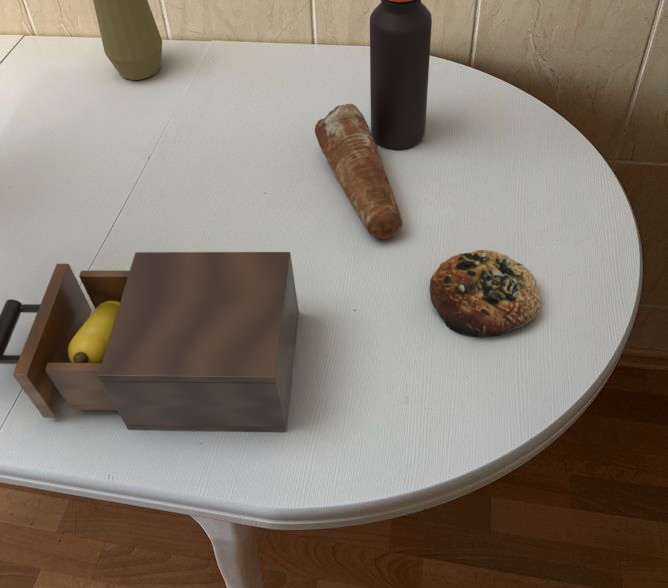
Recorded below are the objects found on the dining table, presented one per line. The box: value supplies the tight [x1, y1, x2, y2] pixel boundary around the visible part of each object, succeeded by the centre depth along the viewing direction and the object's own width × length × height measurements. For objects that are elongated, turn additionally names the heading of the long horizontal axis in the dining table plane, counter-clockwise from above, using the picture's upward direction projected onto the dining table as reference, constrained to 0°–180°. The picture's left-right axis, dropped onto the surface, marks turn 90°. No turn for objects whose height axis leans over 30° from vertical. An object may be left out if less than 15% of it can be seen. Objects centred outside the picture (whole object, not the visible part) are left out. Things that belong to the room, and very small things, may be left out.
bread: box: [314, 103, 403, 240], centre depth 80 cm, size 6×19×6 cm, turn 14°
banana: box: [68, 301, 120, 363], centre depth 64 cm, size 10×4×4 cm, turn 177°
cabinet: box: [98, 251, 300, 433], centre depth 64 cm, size 15×14×9 cm
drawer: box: [0, 263, 130, 419], centre depth 65 cm, size 18×13×7 cm
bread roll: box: [428, 249, 542, 337], centre depth 70 cm, size 11×11×5 cm
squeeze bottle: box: [92, 0, 163, 81], centre depth 93 cm, size 8×8×18 cm
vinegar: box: [369, 0, 433, 150], centre depth 80 cm, size 7×7×20 cm
